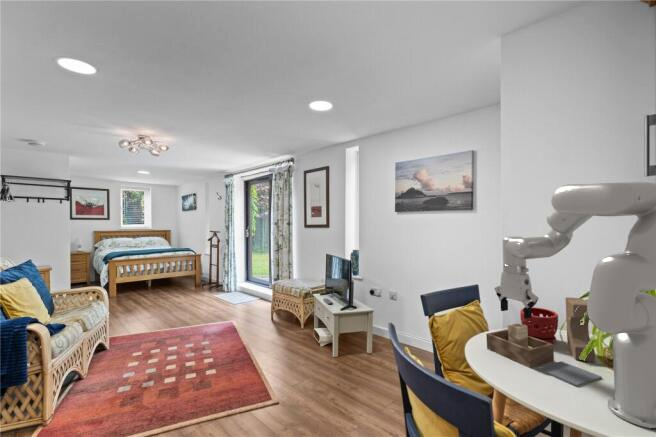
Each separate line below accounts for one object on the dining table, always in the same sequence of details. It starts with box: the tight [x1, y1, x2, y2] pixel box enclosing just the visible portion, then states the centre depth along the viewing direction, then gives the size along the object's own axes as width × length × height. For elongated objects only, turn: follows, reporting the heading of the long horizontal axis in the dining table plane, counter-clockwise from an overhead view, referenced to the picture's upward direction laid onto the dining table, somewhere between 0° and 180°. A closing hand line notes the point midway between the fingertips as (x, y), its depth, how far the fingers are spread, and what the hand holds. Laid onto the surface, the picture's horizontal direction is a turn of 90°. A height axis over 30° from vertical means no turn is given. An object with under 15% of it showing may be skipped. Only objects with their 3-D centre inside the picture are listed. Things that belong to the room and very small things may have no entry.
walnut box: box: [486, 328, 555, 369], centre depth 118 cm, size 18×12×6 cm, turn 21°
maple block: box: [507, 322, 528, 348], centre depth 118 cm, size 4×4×8 cm
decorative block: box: [564, 297, 596, 363], centre depth 116 cm, size 11×6×20 cm, turn 154°
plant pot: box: [519, 306, 559, 344], centre depth 131 cm, size 13×13×12 cm
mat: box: [537, 360, 603, 388], centre depth 103 cm, size 12×12×1 cm
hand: (515, 314), depth 119 cm, fingers open, 9 cm apart
